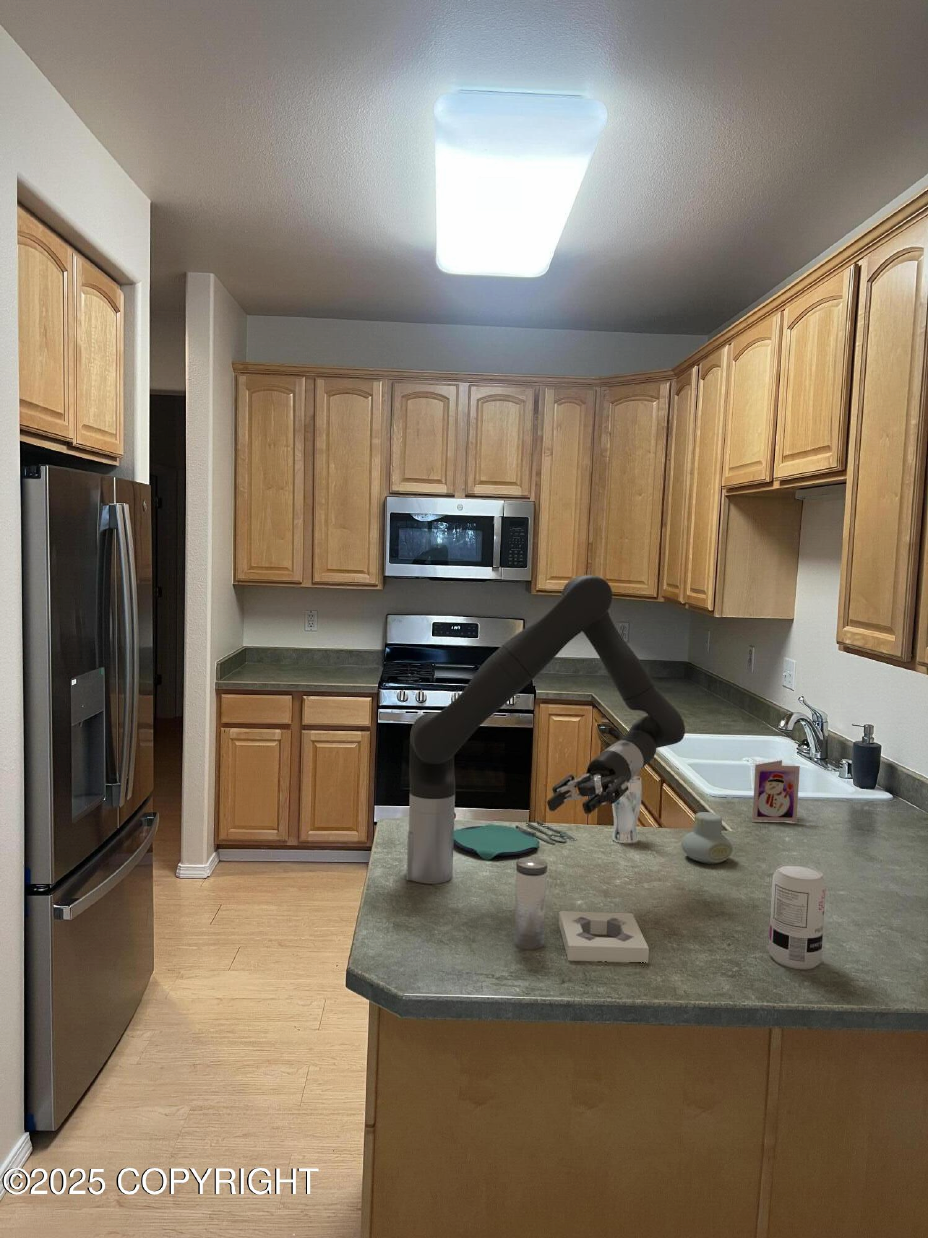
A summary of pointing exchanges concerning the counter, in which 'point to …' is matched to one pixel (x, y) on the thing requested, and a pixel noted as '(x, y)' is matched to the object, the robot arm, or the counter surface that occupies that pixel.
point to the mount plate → (590, 948)
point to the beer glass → (627, 813)
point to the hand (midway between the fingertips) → (567, 808)
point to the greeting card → (776, 792)
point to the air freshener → (707, 840)
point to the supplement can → (797, 916)
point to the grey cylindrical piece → (530, 903)
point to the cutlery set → (502, 839)
